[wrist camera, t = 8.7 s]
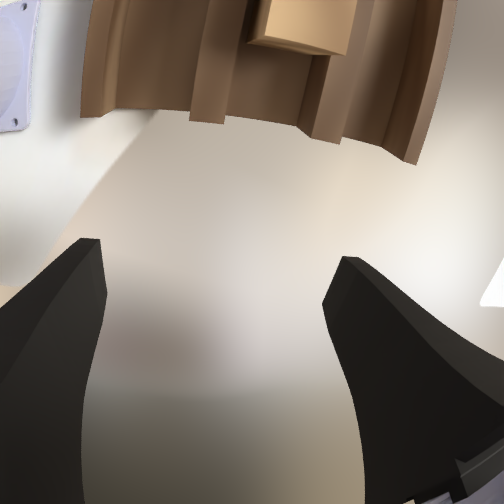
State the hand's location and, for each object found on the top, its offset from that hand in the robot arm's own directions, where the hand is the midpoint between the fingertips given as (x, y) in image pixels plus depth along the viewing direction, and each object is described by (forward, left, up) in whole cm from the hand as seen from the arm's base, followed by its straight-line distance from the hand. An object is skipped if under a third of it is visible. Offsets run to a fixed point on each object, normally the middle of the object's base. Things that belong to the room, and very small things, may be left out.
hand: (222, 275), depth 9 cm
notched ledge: (+2, +11, -9) cm, 15 cm away
